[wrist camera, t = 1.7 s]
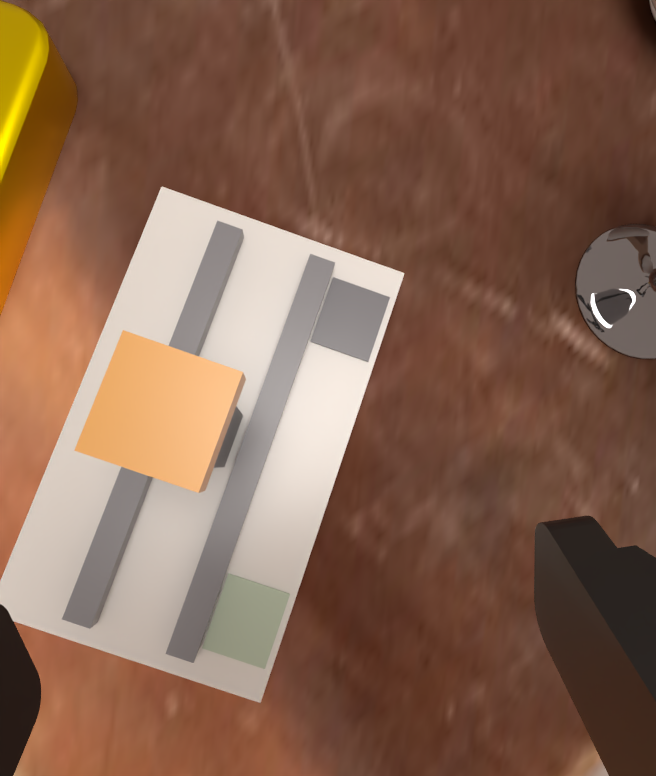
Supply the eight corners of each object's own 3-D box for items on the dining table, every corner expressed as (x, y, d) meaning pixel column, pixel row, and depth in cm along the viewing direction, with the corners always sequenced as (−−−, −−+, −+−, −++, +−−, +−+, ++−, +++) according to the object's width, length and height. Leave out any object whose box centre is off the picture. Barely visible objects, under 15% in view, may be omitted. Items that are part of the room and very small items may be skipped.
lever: (156, 456, 26) (74, 450, 16) (184, 383, 27) (123, 330, 16) (231, 481, 26) (198, 493, 16) (257, 408, 27) (243, 372, 16)
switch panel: (3, 604, 27) (-25, 618, 24) (167, 200, 30) (157, 176, 27) (261, 690, 27) (259, 712, 25) (398, 282, 30) (409, 266, 27)
